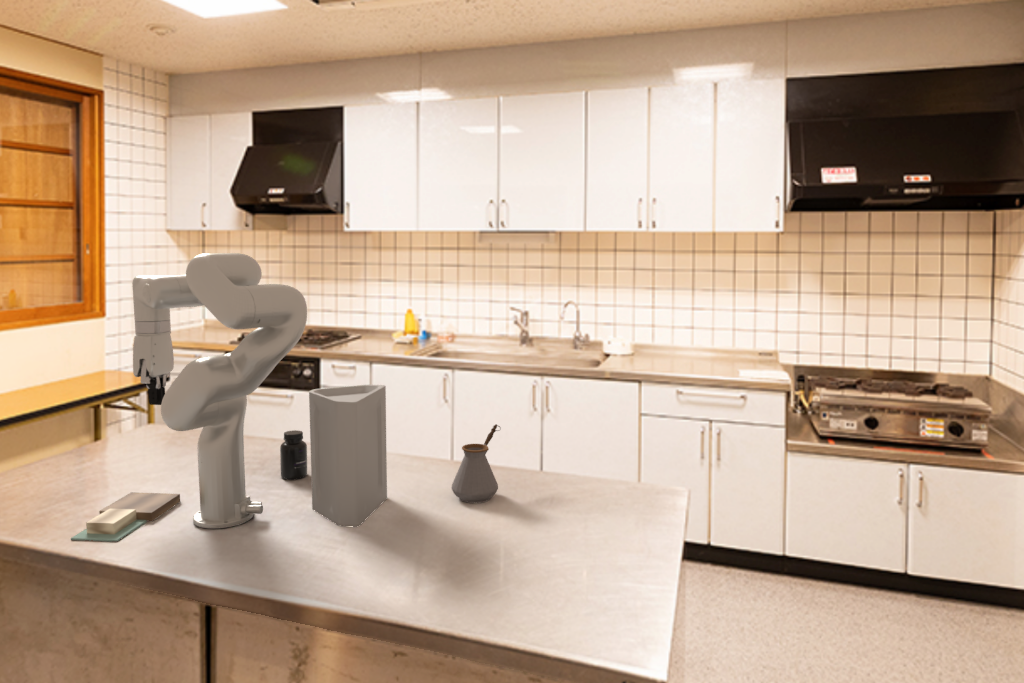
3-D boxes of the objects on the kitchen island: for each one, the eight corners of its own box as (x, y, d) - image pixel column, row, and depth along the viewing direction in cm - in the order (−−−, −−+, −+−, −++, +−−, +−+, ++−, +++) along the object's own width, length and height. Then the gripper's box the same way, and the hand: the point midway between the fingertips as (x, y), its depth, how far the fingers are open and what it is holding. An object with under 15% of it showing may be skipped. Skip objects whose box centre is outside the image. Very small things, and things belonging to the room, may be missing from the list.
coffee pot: (488, 508, 167) (488, 447, 165) (443, 502, 171) (443, 442, 169) (517, 481, 187) (517, 425, 185) (476, 475, 191) (477, 421, 189)
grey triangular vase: (331, 493, 176) (328, 382, 173) (388, 497, 174) (386, 385, 170) (295, 522, 158) (291, 399, 154) (358, 527, 155) (355, 402, 151)
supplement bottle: (303, 480, 185) (301, 436, 184) (277, 480, 185) (275, 435, 184) (311, 472, 192) (309, 429, 190) (286, 471, 192) (284, 428, 191)
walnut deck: (180, 501, 169) (179, 493, 169) (152, 521, 157) (151, 512, 157) (131, 500, 170) (131, 492, 170) (99, 519, 158) (99, 510, 158)
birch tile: (136, 519, 157) (135, 509, 157) (114, 534, 149) (113, 523, 149) (110, 518, 157) (109, 508, 157) (86, 533, 149) (86, 522, 149)
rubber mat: (146, 521, 157) (146, 519, 157) (117, 541, 146) (117, 539, 146) (103, 520, 158) (103, 518, 158) (70, 539, 147) (70, 538, 147)
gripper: (155, 324, 174) (159, 397, 177) (118, 331, 160) (123, 410, 162) (184, 324, 174) (188, 397, 177) (150, 332, 159) (155, 411, 162)
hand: (157, 403), depth 169 cm, fingers closed
